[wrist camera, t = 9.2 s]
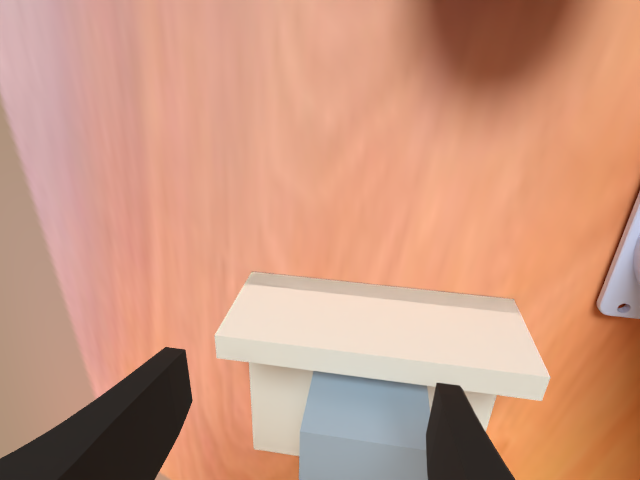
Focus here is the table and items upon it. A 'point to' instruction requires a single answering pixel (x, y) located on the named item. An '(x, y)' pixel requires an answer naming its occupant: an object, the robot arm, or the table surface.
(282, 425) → the board
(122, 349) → the table surface
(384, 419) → the block
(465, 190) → the table surface
